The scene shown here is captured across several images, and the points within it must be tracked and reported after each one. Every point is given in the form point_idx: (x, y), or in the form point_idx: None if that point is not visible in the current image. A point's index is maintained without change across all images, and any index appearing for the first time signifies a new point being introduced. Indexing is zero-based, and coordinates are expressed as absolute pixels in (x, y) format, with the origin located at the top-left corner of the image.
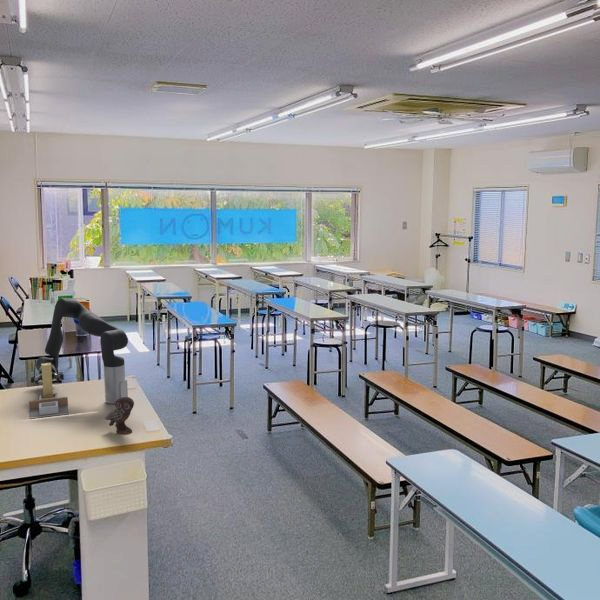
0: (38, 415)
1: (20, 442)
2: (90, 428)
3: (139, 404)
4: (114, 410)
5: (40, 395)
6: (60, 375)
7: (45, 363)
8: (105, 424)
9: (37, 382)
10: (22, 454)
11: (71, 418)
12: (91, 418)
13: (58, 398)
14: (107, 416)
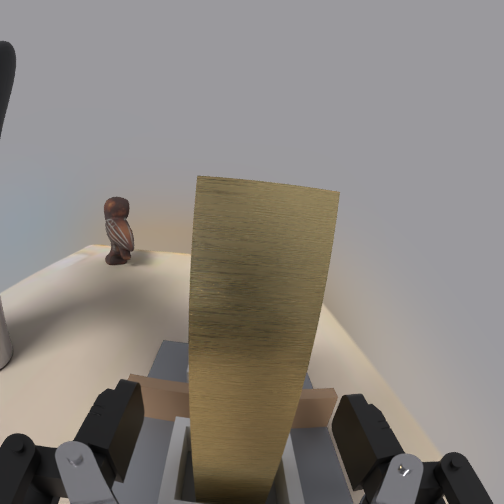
0: None
1: None
2: (152, 280)
3: None
4: (127, 223)
5: (295, 500)
6: (42, 473)
7: (278, 183)
8: (119, 281)
9: (342, 410)
10: None
11: (167, 323)
12: (123, 306)
13: (177, 382)
14: (133, 239)
